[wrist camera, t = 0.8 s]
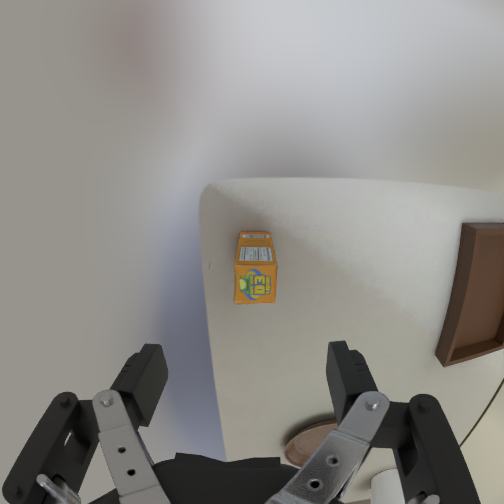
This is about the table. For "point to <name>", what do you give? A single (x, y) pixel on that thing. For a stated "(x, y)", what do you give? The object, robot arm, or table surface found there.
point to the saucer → (307, 442)
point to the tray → (475, 297)
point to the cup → (387, 488)
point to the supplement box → (255, 269)
